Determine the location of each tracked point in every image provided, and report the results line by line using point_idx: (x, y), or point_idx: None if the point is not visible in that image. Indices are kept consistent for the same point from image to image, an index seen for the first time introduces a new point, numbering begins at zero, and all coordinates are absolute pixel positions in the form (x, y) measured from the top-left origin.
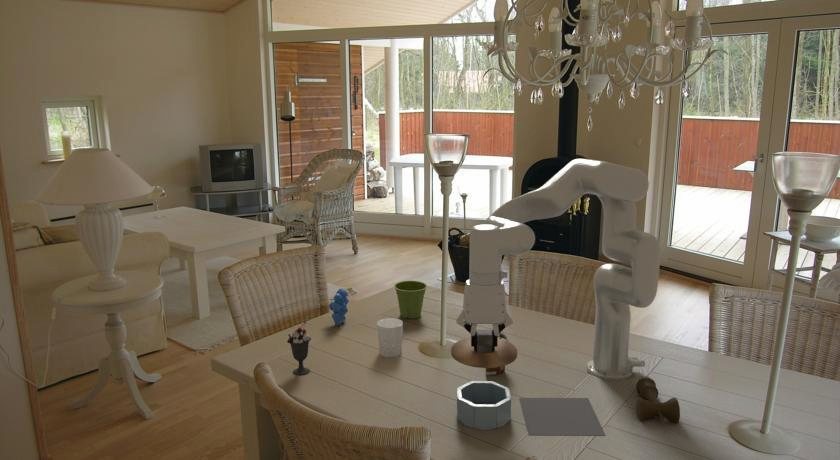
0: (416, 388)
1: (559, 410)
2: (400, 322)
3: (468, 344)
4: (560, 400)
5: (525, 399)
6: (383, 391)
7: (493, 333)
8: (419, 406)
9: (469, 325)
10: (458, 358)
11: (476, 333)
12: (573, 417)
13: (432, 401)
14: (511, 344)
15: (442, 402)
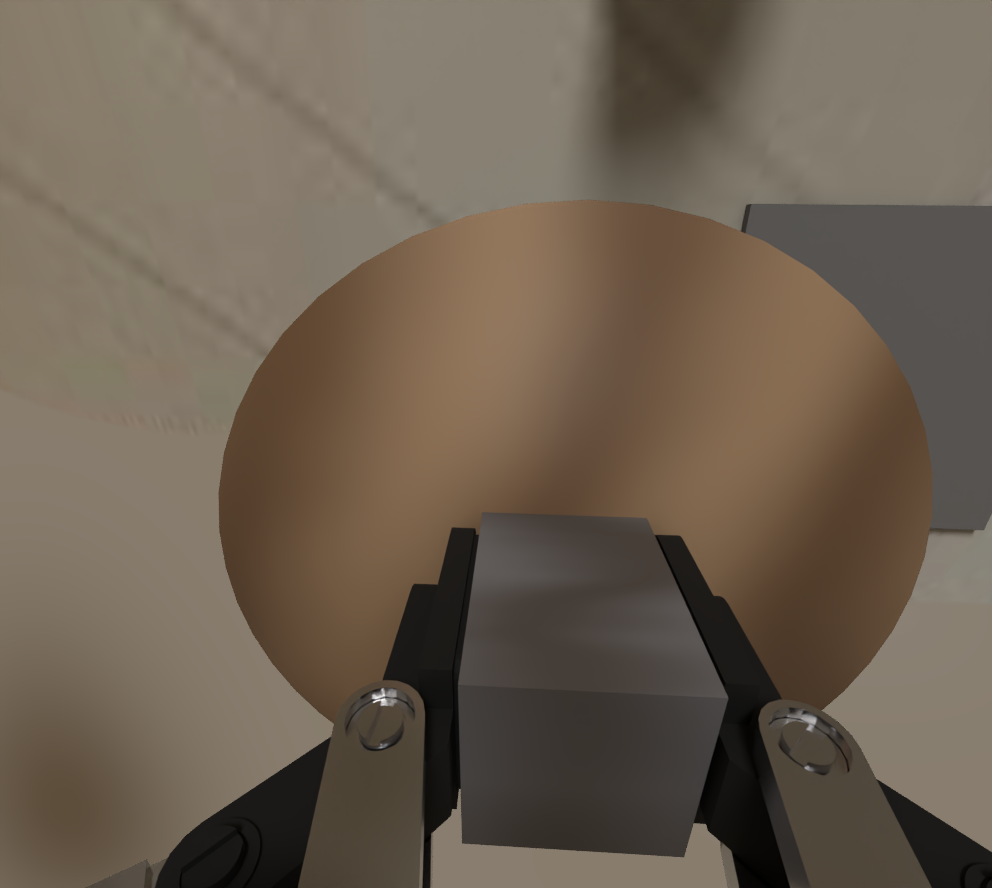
0: (188, 58)
1: (902, 341)
2: None
3: (395, 456)
4: (964, 236)
5: (778, 224)
6: (22, 102)
7: (717, 823)
8: (249, 276)
9: (293, 868)
10: (320, 708)
11: (452, 801)
12: (934, 404)
13: (302, 224)
14: (913, 472)
15: (352, 236)
